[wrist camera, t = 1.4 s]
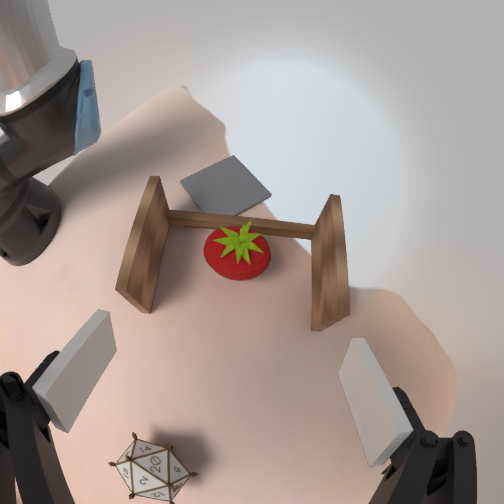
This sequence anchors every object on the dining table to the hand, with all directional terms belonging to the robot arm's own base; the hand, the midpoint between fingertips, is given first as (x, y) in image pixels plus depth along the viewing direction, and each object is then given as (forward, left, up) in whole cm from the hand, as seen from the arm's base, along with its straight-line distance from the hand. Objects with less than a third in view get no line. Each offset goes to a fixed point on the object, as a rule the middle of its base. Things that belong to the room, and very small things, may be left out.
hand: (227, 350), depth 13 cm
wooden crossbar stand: (-9, +8, -18) cm, 22 cm away
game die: (+6, -14, -18) cm, 24 cm away
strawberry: (-9, +8, -18) cm, 22 cm away
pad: (-21, +14, -18) cm, 31 cm away
